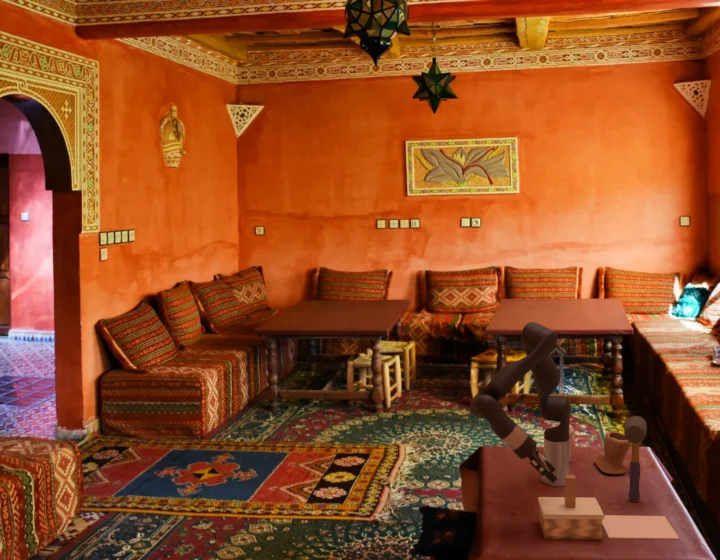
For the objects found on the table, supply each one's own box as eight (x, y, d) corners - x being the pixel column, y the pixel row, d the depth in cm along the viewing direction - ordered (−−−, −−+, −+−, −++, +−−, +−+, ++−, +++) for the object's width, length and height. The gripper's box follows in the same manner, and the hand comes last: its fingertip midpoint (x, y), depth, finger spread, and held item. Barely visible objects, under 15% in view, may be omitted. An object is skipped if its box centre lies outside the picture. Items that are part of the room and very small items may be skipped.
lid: (543, 521, 263) (543, 484, 262) (537, 504, 277) (538, 468, 276) (604, 522, 262) (604, 484, 260) (595, 504, 276) (595, 469, 274)
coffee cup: (574, 458, 337) (575, 423, 335) (572, 466, 328) (573, 430, 326) (551, 456, 340) (551, 421, 338) (548, 464, 331) (548, 428, 329)
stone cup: (633, 476, 316) (634, 438, 314) (602, 476, 316) (602, 439, 314) (622, 462, 331) (623, 426, 329) (592, 462, 331) (593, 426, 329)
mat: (609, 538, 264) (609, 537, 264) (598, 516, 281) (598, 515, 280) (679, 539, 262) (679, 538, 262) (664, 517, 279) (664, 516, 279)
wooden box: (544, 538, 265) (544, 518, 264) (539, 521, 277) (539, 501, 276) (601, 539, 263) (602, 518, 262) (593, 522, 276) (594, 502, 275)
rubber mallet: (644, 508, 286) (646, 425, 282) (621, 505, 289) (623, 423, 285) (646, 495, 297) (648, 415, 293) (624, 492, 300) (626, 413, 296)
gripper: (528, 440, 261) (564, 476, 261) (526, 426, 275) (561, 460, 275) (511, 456, 263) (547, 491, 262) (510, 441, 277) (544, 475, 276)
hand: (554, 476), depth 269 cm, fingers open, 8 cm apart
